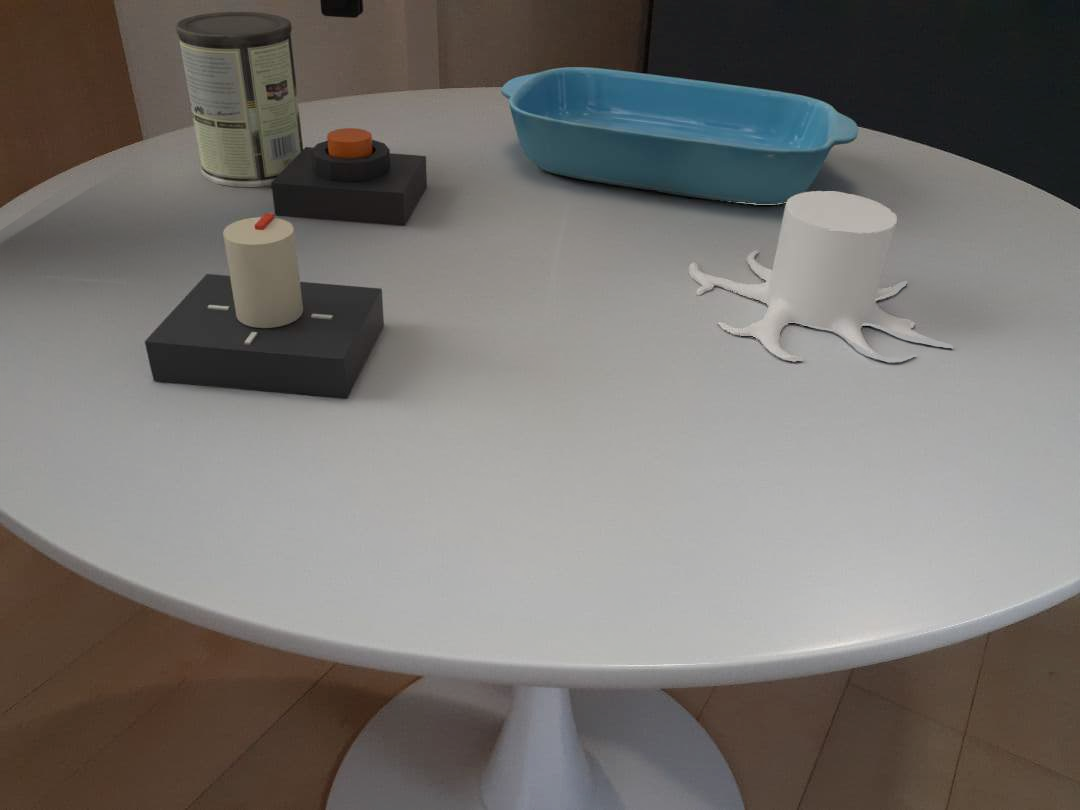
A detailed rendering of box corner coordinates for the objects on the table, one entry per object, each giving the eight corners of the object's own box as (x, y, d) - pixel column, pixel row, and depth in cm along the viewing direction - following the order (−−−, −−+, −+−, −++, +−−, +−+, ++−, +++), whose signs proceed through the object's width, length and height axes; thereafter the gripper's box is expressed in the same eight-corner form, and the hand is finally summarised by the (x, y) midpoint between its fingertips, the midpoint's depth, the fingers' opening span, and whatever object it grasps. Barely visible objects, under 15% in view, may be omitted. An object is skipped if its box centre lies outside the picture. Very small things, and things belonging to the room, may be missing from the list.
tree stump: (920, 267, 80) (947, 178, 76) (968, 384, 64) (1005, 280, 60) (690, 243, 83) (703, 154, 78) (681, 349, 67) (697, 246, 62)
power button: (323, 159, 83) (321, 140, 82) (335, 145, 87) (334, 126, 86) (366, 162, 83) (365, 143, 82) (377, 148, 87) (376, 129, 86)
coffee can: (226, 149, 98) (205, 7, 90) (320, 158, 97) (307, 15, 89) (181, 183, 90) (154, 30, 82) (283, 192, 88) (265, 38, 81)
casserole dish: (844, 157, 104) (859, 93, 100) (842, 231, 86) (860, 157, 82) (532, 118, 112) (534, 56, 108) (471, 178, 94) (471, 107, 90)
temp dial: (290, 331, 61) (279, 242, 57) (226, 325, 61) (210, 236, 57) (311, 300, 64) (302, 215, 61) (250, 295, 65) (238, 210, 61)
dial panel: (153, 380, 61) (143, 339, 59) (213, 309, 69) (206, 271, 67) (347, 398, 60) (343, 356, 58) (384, 324, 68) (381, 286, 66)
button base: (274, 216, 84) (268, 162, 81) (308, 178, 92) (303, 128, 89) (404, 226, 83) (402, 173, 80) (427, 187, 91) (425, 137, 89)
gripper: (303, -248, 74) (325, -4, 85) (234, -255, 62) (269, 31, 72) (394, -245, 74) (405, 0, 84) (343, -251, 62) (363, 37, 72)
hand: (342, 14), depth 78 cm, fingers closed
